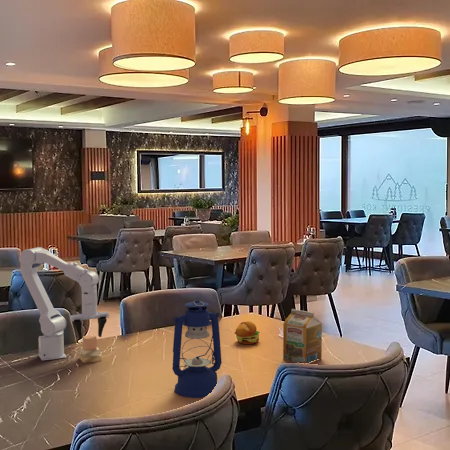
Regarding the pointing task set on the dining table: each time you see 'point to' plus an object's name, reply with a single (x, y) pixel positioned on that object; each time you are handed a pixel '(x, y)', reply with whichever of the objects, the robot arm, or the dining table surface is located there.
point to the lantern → (196, 367)
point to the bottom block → (89, 358)
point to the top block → (89, 352)
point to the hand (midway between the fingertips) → (90, 337)
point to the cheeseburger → (247, 333)
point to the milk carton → (302, 337)
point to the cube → (89, 342)
